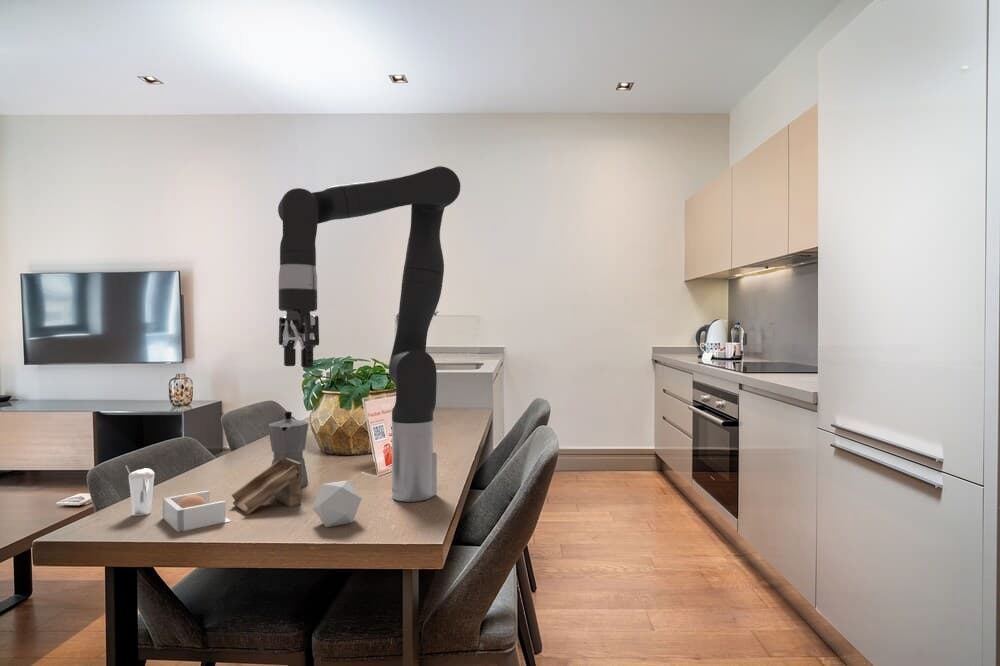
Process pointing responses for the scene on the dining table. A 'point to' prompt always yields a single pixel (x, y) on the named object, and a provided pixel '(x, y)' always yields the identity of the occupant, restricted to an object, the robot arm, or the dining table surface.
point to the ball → (191, 501)
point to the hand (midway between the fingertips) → (298, 366)
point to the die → (337, 503)
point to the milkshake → (141, 491)
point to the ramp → (272, 486)
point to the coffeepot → (289, 441)
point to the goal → (193, 512)
